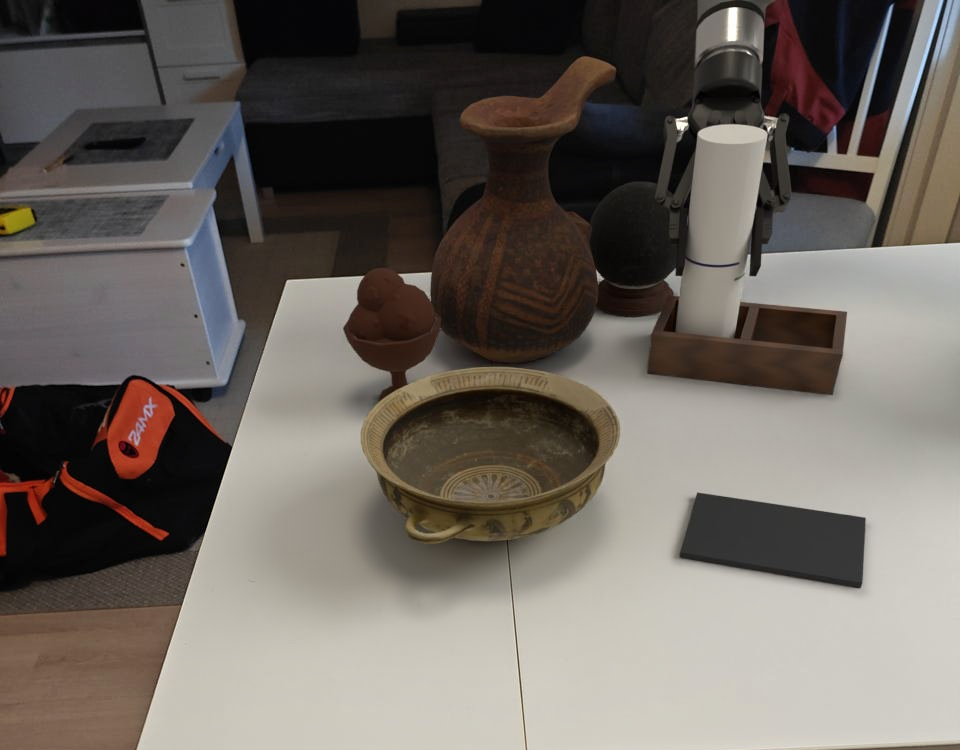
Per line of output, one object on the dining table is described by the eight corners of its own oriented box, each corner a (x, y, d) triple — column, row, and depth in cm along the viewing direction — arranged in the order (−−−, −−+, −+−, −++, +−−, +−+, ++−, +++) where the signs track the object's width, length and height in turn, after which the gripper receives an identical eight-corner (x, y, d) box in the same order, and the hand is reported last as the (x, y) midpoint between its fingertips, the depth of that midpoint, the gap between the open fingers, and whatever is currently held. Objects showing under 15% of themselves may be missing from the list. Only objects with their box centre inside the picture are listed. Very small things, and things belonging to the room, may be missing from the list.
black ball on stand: (684, 282, 126) (697, 168, 115) (675, 322, 117) (689, 203, 106) (593, 277, 128) (597, 166, 118) (577, 316, 119) (581, 199, 109)
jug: (591, 384, 106) (605, 101, 85) (418, 376, 109) (390, 102, 88) (605, 307, 121) (620, 51, 100) (453, 302, 124) (436, 53, 103)
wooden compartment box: (837, 350, 109) (847, 311, 106) (832, 394, 101) (842, 354, 98) (664, 332, 115) (668, 295, 111) (647, 373, 107) (650, 334, 104)
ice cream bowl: (345, 420, 102) (324, 293, 92) (371, 374, 110) (353, 252, 100) (434, 425, 101) (422, 296, 90) (453, 378, 108) (444, 254, 98)
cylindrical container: (662, 351, 111) (685, 130, 94) (711, 339, 113) (742, 120, 95) (691, 375, 106) (721, 147, 89) (742, 363, 108) (781, 137, 90)
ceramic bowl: (545, 641, 74) (546, 549, 67) (311, 572, 83) (290, 483, 76) (654, 460, 93) (663, 373, 86) (455, 418, 102) (449, 336, 95)
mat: (864, 522, 84) (865, 517, 84) (860, 588, 77) (862, 582, 77) (696, 497, 88) (697, 492, 88) (679, 557, 82) (680, 552, 81)
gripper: (812, 88, 101) (802, 285, 101) (634, 92, 104) (624, 284, 103) (831, 44, 94) (820, 256, 94) (638, 49, 96) (627, 256, 96)
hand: (717, 270), depth 99 cm, fingers open, 8 cm apart
